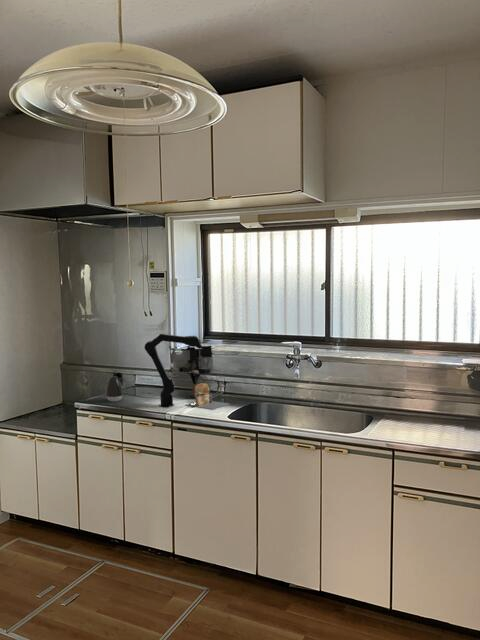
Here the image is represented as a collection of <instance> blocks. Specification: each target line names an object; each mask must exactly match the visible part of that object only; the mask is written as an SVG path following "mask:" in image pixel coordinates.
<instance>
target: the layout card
mask: <svg viewBox="0 0 480 640" xmlns="http://www.w3.org/2000/svg"><path fill="white" fill-rule="evenodd" d="M191 403H192V402H190V403H186V405H188V406H187V407H191V406H194V407H193V408H198V409H205V410H206V409H207V410H211V411H212V410H213V411H214V410H216V409H221V408H223V407H225V406H229V405H230V403H227V402H221V401H213V400H212V403H205V404H202V405H199V406H196V404H195V405H191Z"/></svg>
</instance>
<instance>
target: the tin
mask: <svg viewBox="0 0 480 640" xmlns="http://www.w3.org/2000/svg"><path fill="white" fill-rule="evenodd" d="M197 392H200V393H207V394H209V393H211V386H210V384H209V383H208V382H201V383H198V384H197V383H196V385H194V384H193V386H192V387H191V394H192V395H191V396H192V397H193V398H195V399H196V397H197Z"/></svg>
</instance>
